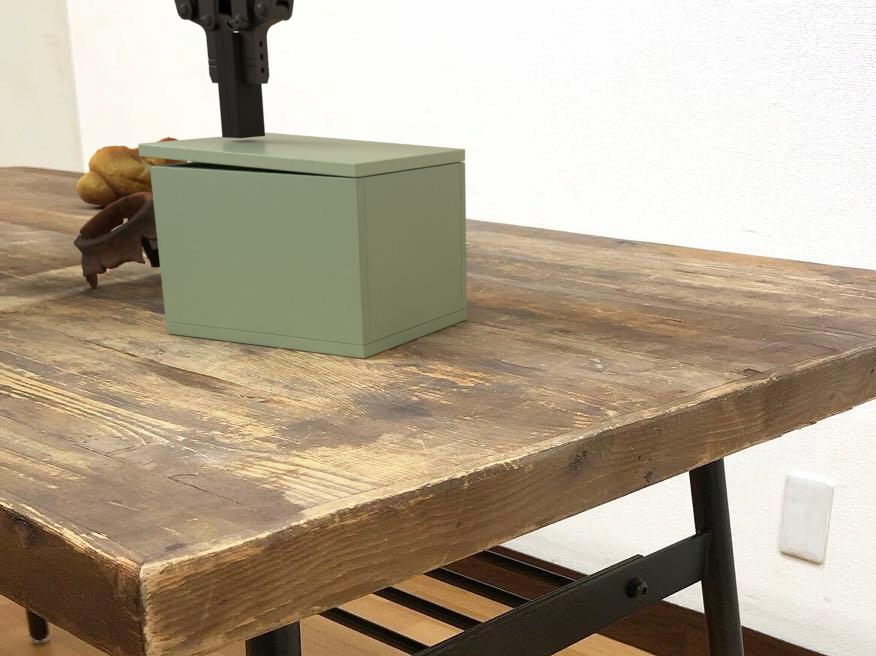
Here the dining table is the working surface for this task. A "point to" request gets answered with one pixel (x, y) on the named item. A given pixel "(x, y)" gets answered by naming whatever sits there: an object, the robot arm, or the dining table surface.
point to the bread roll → (118, 174)
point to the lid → (304, 154)
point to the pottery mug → (119, 236)
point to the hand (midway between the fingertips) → (243, 136)
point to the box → (311, 255)
